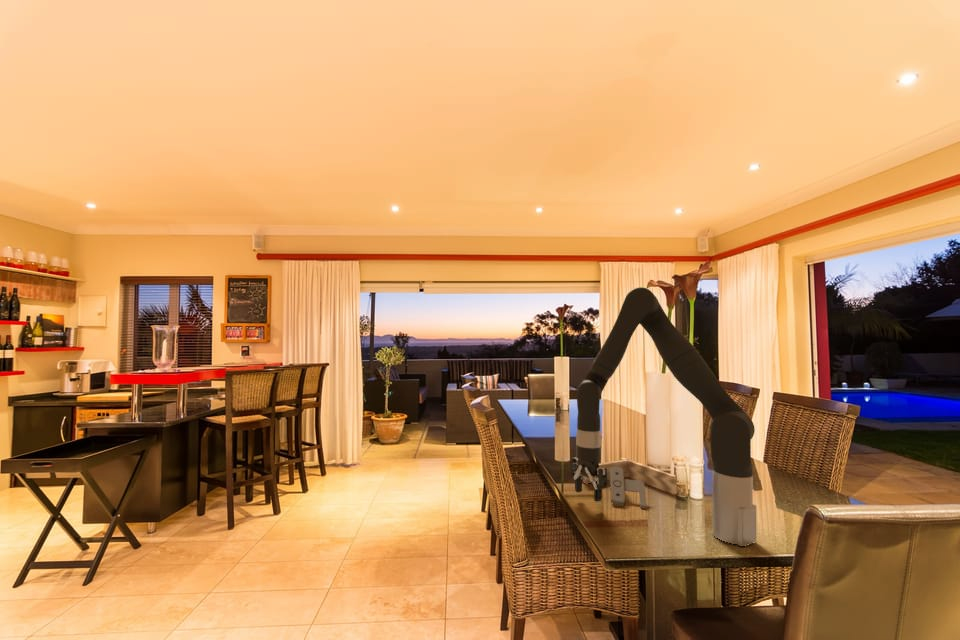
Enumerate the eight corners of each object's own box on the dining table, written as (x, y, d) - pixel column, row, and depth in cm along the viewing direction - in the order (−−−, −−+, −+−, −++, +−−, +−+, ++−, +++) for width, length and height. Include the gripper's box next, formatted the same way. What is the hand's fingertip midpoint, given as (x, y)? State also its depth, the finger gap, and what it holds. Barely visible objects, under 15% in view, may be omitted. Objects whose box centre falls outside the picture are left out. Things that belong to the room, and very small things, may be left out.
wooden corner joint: (676, 493, 147) (676, 475, 147) (629, 504, 137) (630, 485, 137) (623, 473, 168) (623, 457, 168) (579, 481, 157) (579, 464, 158)
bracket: (641, 490, 149) (643, 469, 145) (644, 527, 137) (647, 505, 133) (609, 487, 152) (610, 466, 148) (610, 522, 140) (611, 500, 135)
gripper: (614, 448, 132) (613, 502, 131) (582, 437, 144) (581, 487, 144) (595, 450, 128) (594, 506, 128) (564, 440, 141) (563, 490, 140)
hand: (587, 496), depth 136 cm, fingers open, 8 cm apart
